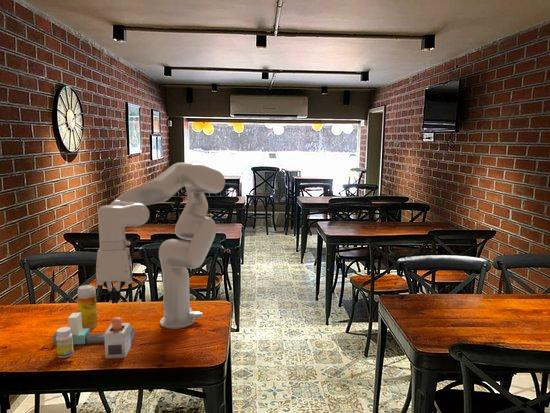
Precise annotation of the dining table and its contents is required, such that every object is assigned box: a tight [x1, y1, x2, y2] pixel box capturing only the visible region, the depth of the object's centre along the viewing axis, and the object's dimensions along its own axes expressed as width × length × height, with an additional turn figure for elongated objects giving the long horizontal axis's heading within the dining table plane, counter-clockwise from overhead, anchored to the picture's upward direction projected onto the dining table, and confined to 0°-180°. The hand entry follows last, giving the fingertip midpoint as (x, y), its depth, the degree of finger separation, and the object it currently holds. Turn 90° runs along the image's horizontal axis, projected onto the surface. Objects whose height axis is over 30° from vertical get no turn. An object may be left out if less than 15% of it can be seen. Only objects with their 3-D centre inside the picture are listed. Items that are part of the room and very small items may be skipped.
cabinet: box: [104, 322, 132, 359], centre depth 139 cm, size 6×8×8 cm
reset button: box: [111, 316, 123, 331], centre depth 138 cm, size 3×3×4 cm
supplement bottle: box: [55, 326, 75, 359], centre depth 138 cm, size 5×5×8 cm
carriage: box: [67, 312, 90, 345], centre depth 146 cm, size 7×6×9 cm
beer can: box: [76, 284, 98, 330], centre depth 159 cm, size 6×6×15 cm
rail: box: [52, 325, 135, 347], centre depth 147 cm, size 25×5×4 cm, turn 96°
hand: (115, 301), depth 137 cm, fingers closed
